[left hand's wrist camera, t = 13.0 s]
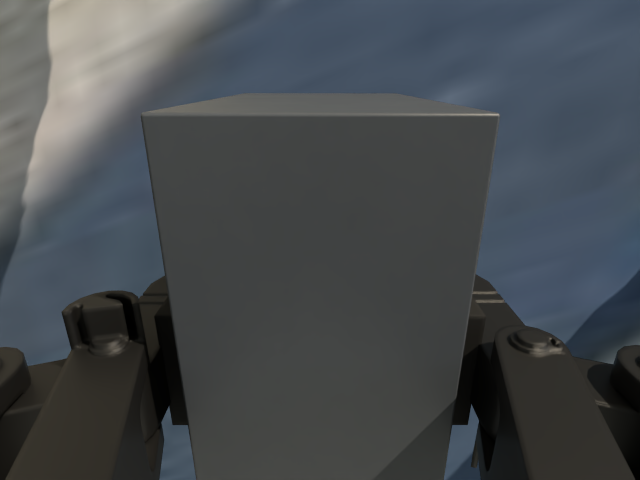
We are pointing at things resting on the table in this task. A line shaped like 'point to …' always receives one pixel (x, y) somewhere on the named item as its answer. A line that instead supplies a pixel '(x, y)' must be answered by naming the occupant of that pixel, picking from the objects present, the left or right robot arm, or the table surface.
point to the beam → (320, 277)
